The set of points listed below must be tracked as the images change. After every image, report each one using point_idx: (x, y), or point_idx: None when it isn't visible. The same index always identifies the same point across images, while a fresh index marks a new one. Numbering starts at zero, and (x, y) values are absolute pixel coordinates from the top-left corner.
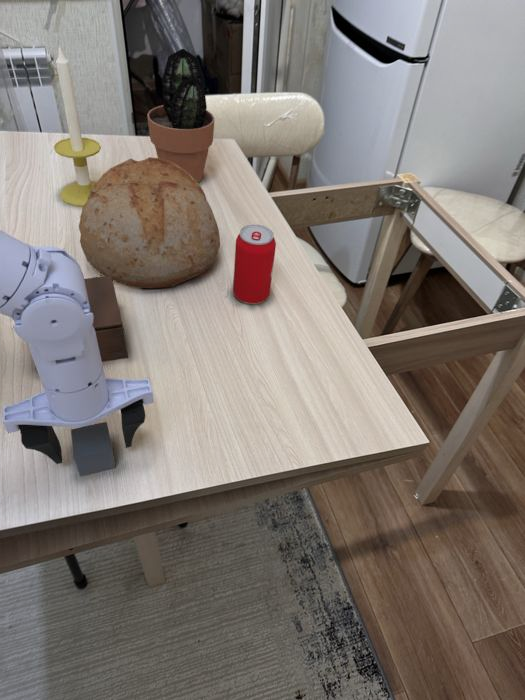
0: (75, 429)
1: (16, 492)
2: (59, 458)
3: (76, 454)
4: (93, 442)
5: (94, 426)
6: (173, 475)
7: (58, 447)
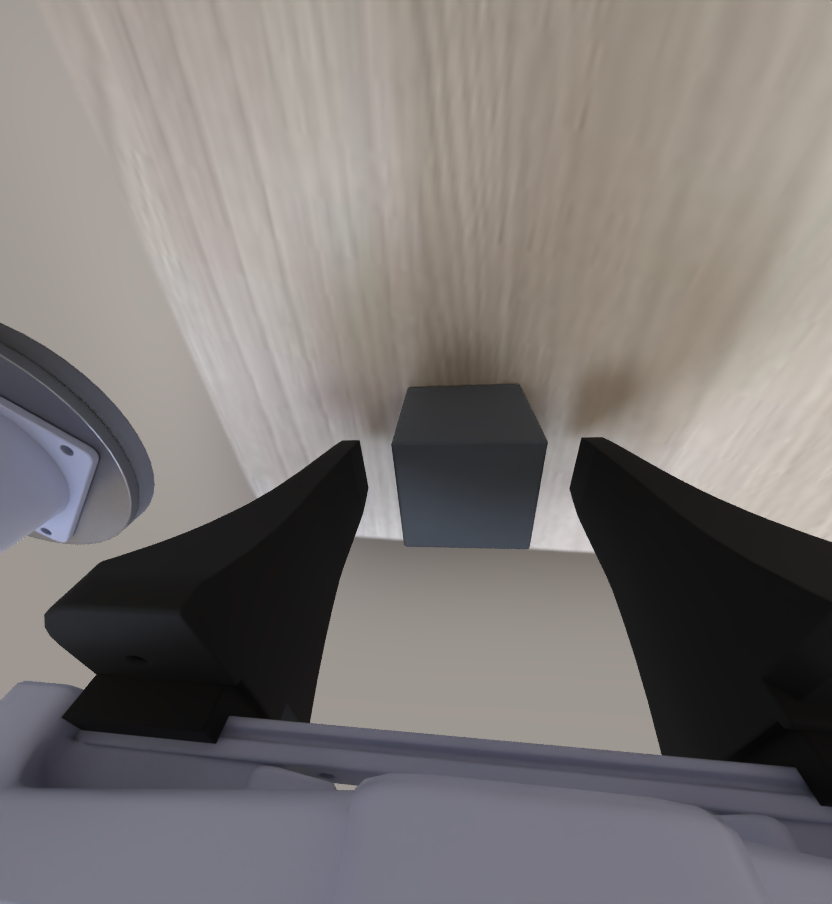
0: (409, 447)
1: (267, 474)
2: (358, 525)
3: (412, 540)
4: (474, 515)
5: (490, 452)
6: None
7: (350, 491)
